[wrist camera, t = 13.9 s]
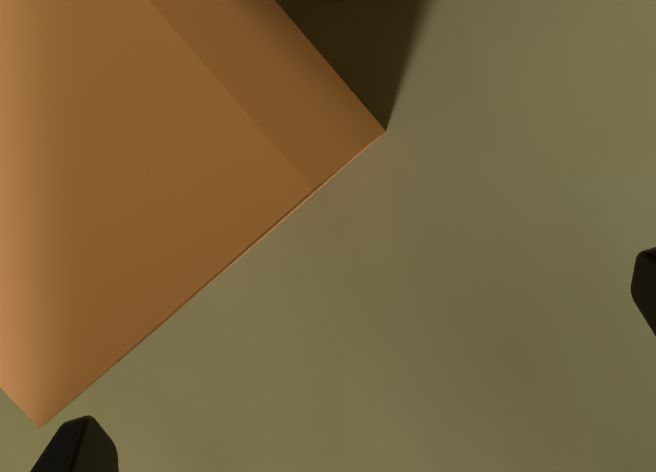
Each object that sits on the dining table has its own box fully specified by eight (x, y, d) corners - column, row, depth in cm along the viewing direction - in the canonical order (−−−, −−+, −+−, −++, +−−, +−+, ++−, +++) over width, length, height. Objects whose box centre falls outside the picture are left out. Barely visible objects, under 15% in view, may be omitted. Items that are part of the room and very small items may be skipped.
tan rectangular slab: (386, 131, 16) (312, 189, 6) (273, 229, 17) (39, 429, 7) (245, -35, 16) (-118, -307, 5) (140, 78, 17) (-327, 41, 6)
